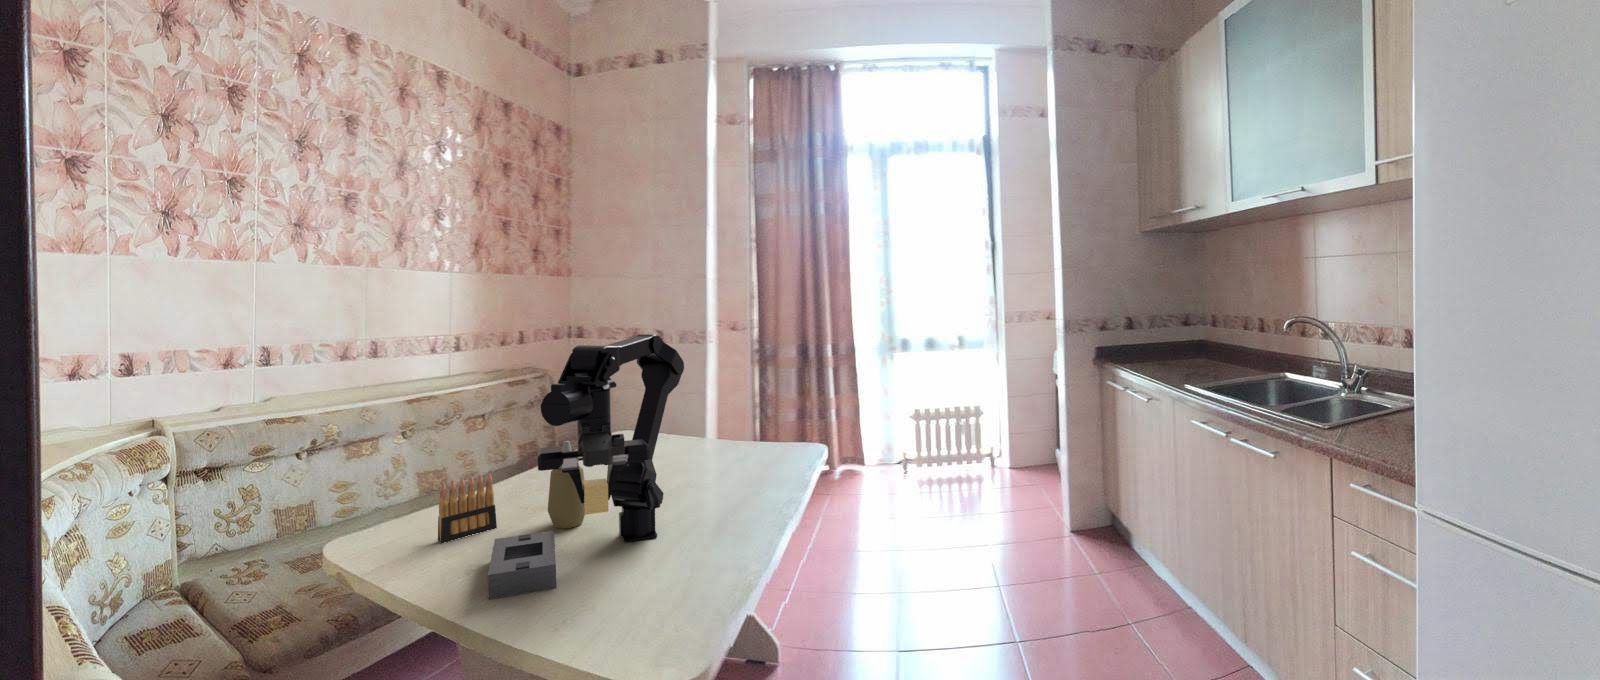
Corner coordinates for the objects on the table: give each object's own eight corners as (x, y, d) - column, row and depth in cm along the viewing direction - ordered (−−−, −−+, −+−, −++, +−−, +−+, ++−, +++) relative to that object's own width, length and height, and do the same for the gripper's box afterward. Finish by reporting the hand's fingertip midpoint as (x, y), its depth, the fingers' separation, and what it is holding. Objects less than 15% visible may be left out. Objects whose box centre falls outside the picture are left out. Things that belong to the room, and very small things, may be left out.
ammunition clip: (441, 543, 116) (439, 483, 116) (437, 541, 118) (435, 482, 117) (497, 528, 125) (495, 472, 124) (493, 526, 126) (491, 470, 125)
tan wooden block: (605, 504, 110) (605, 478, 109) (608, 511, 106) (608, 484, 106) (582, 507, 108) (582, 480, 108) (584, 514, 104) (584, 486, 104)
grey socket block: (554, 551, 113) (553, 529, 113) (556, 587, 98) (555, 563, 98) (495, 560, 109) (494, 537, 109) (488, 599, 94) (487, 573, 94)
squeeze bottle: (596, 522, 128) (594, 440, 127) (563, 534, 121) (561, 447, 120) (572, 515, 133) (570, 435, 132) (539, 526, 126) (537, 442, 125)
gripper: (537, 428, 95) (539, 523, 96) (655, 419, 103) (656, 508, 103) (536, 416, 105) (538, 503, 106) (644, 409, 113) (644, 490, 113)
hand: (595, 501), depth 107 cm, fingers closed on tan wooden block, 4 cm apart
